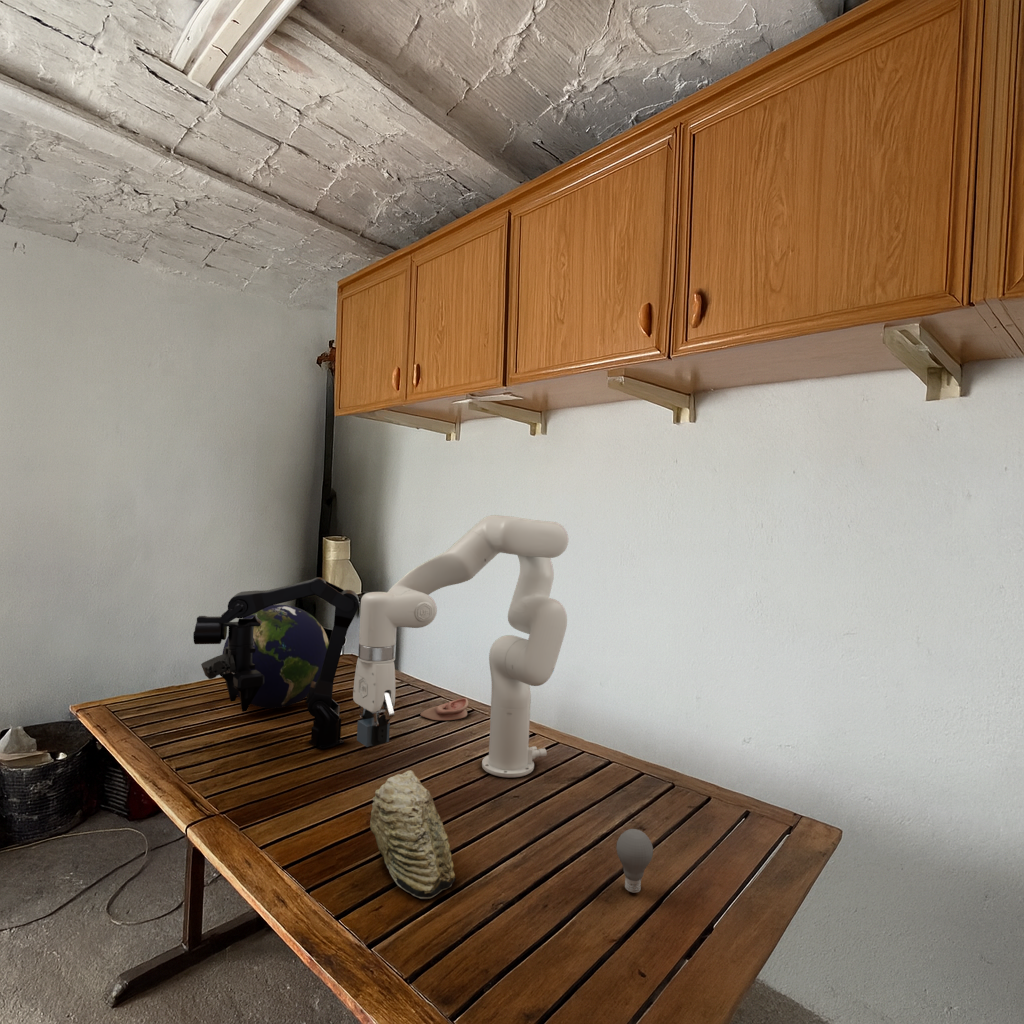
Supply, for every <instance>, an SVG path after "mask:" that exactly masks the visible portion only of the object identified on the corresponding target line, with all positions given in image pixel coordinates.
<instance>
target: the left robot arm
mask: <svg viewBox="0 0 1024 1024" xmlns="http://www.w3.org/2000/svg"><path fill="white" fill-rule="evenodd" d="M311 596H318V597H319V598H321V599H322V600H324V601H325V602H326V603H328V604H330V605H331V606H333V607H334V619H333V627H332V629H331V634H330V638H329V640H328V642H329V644H328V648H327V652H326V655H325V659H324V663H323V666H322V670H321V674H320V676H319V678H318V680H317V682H314V681H311V684H310V690H309V693H308V694H307V697H306V698H305V705H306V704H307V707H306V709H307V712H308V713H309V715H310V716H311V717H313V718H314V719H313V721H312V722H313V723H312V727H311V730H310V731H311V732H310V733H311V735H310V739H309V740H308V743H309V744H310V745H313V746H314V747H316V748H318V749H320V750H327V749H329V748H333V747H336V746H340V745H343V744H344V743H345V741H344V740H343V739H341V737H342V735H341V733H342V717H340V709H341V708H340V707H341V706H340V704H338V703H337V702H336V701H335V700H334V699H333V693H334V691H333V690H334V680H335V677H336V673H337V669H338V666H339V662H340V659H341V655H342V651H343V647H344V644H345V640H346V638H347V637H346V636H347V634H348V630H349V628H350V625H351V624H352V622H353V621H354V618H355V616H356V614H357V612H358V610H359V607H360V599H359V596H358V594H357V593H356V592H355V591H354V590H352V589H351V590H350V589H343V588H341V587H340V586H338V585H336V584H334V583H331V582H329V581H328V580H326V579H324V578H323V577H320V576H319V577H318V576H317V577H314V578H312V579H308V580H305V581H304V580H303V581H301V582H296V583H292V584H288V585H284V586H280V587H276V588H272V589H268V590H266V589H265V590H243V591H240V592H237V593H236V594H234V595H233V596H232V597H231V598H230V599H229V601H228V603H227V609H226V611H224V612H223V613H222V614H221V615H220V616H207V615H198V616H197V617H196V623H195V626H194V631H193V637H192V638H193V643H194V645H221V644H222V641H226V640H227V637H228V647H225V649H224V648H223V649H224V654H220V655H216V656H214V657H212V658H210V659H207V660H206V661H204V662H202V663H201V664H200V665H201V668H202V671H203V673H204V676H205V677H206V678H207V679H208V680H213V679H215V678H217V677H218V676H220V677H221V678H222V679H224V681H225V685H226V689H227V692H228V693H227V694H228V697H229V701H230V702H232V703H233V702H235V701H236V700H237V697H238V696H237V695H238V692H239V694H240V698H239V701H240V709H241V712H242V713H246V712H248V710H249V708H250V706H251V702H252V700H253V698H254V696H255V695H256V693H257V691H258V690H259V688H260V687H261V686H262V685H263V684H264V677H265V676H264V675H263V674H261V673H260V672H259V671H257V670H251V671H249V670H250V669H255V664H253V663H252V659H253V653H254V652H255V650H256V648H254V647H253V631H254V626H260V625H261V624H262V621H261V620H260V619H258V617H257V616H256V615H254V617H253V618H244V617H247V616H249V615H252V614H254V613H256V612H258V611H260V610H262V609H264V608H266V607H269V606H272V605H281V604H283V603H287V602H292V601H296V600H299V599H303V598H307V597H311ZM235 619H238V620H237V621H234V620H235ZM227 634H228V635H227Z"/></svg>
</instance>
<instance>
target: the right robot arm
mask: <svg viewBox="0 0 1024 1024" xmlns="http://www.w3.org/2000/svg"><path fill="white" fill-rule="evenodd" d="M568 545H569V534H568V532H567V529H566V528H565V527H564V525H562V524H561V523H560V522H559V523H558V522H556V521H549V520H539V519H531V518H523V517H518V516H510V515H499V514H498V515H497V514H492V515H488V516H485V517H483V518H482V519H480V520H479V521H477V523H476V524H474V525H473V526H472V527H471V528H470V529H469V530H468V531H467V532H465V533H464V534H463V535H462V536H461V537H460V538H459V539H458V540H457V541H456V542H453V544H452V545H451V546H450V547H449V548H448V549H446V550H444V551H443V552H442V553H440V554H437V555H435V556H433V557H432V558H430V559H428V560H427V561H424V562H423V563H420V564H419V565H417V566H415V567H414V568H412V569H410V570H409V571H408V572H407V573H406V574H405V575H403V576H402V577H401V578H400V579H398V581H396V582H395V583H394V584H393V585H392V586H391V587H390V588H389V589H388V591H370V592H365V593H364V594H363V595H362V596H361V599H360V611H359V635H358V654H357V655H358V657H357V661H356V666H355V671H354V680H353V690H352V691H353V692H352V700H353V702H354V703H355V704H356V705H358V707H359V717H360V720H363V719H368V718H373V717H374V725H373V726H372V745H373V747H374V746H378V745H383V744H386V743H388V742H387V724H389V722H390V720H391V719H392V718H394V717H395V710H394V707H395V702H396V668H395V667H396V666H395V661H396V647H397V631H398V630H397V628H409V629H410V628H411V629H420V628H421V629H422V628H424V627H426V626H428V625H430V624H431V623H432V622H433V621H434V620H435V618H436V616H437V612H438V607H437V603H436V601H435V600H434V599H433V598H432V597H431V596H430V595H431V594H432V593H435V592H436V591H438V590H441V589H443V588H445V587H449V586H454V585H458V584H462V583H465V582H468V581H470V580H472V579H473V578H474V577H475V576H476V575H477V574H479V572H480V571H481V570H482V569H483V568H484V567H486V566H487V565H488V564H489V563H490V562H491V561H492V560H493V559H494V558H495V557H496V556H497V555H499V554H500V553H501V554H507V555H515V556H517V559H518V561H519V574H518V579H517V582H516V586H515V588H514V592H513V594H512V598H511V601H510V605H509V607H508V611H507V621H508V622H507V623H509V625H510V626H511V627H512V628H513V629H515V630H516V631H519V632H521V633H523V634H524V633H525V634H527V635H528V638H527V639H526V638H524V637H521V636H517V635H513V634H507V635H502V636H500V637H498V638H497V639H496V640H494V641H493V643H492V644H491V647H490V649H489V653H488V663H489V671H490V679H491V695H490V696H491V698H490V718H489V740H488V754H487V755H486V756H484V757H483V758H482V760H481V761H482V762H481V767H482V769H483V770H484V771H485V772H486V773H488V774H490V775H491V776H496V777H499V778H512V779H513V778H520V777H524V776H527V775H529V774H531V773H532V772H533V771H534V769H535V762H534V760H536V758H544V757H547V753H548V752H547V749H546V748H544V747H543V748H537V746H535V745H534V746H530V723H531V722H530V721H531V703H532V693H531V687H540V686H542V685H544V684H545V683H547V682H548V681H549V679H550V678H551V676H552V675H553V673H554V671H555V667H556V665H557V662H558V659H559V655H560V652H561V649H562V645H563V642H564V639H565V635H566V632H567V627H568V614H567V611H566V608H565V606H564V605H563V604H562V603H561V602H560V601H559V600H557V599H555V598H553V597H552V598H551V596H550V595H551V592H552V587H553V583H554V579H555V572H554V571H555V570H554V565H553V562H552V559H553V558H558V557H559V556H561V555H562V554H563V553H564V552H565V551H566V550H567V547H568ZM382 713H383V714H382ZM380 714H381V715H380ZM379 716H380V718H379Z"/></svg>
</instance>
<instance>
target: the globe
mask: <svg viewBox="0 0 1024 1024" xmlns="http://www.w3.org/2000/svg"><path fill="white" fill-rule="evenodd" d="M254 615H256V616H257V617H258V619H260V620H261V621H262V624H261V625H260V626H254V631H253V647H254V648H256V650H255V652H254V653H253V659H252V663H253V664H255V669H250V670H249V671H251V670H257V671H259V672H260V673H261V674H263V675H264V676H265V677H264V684H263V685H262V686H261V687H260V688H259V690H258V691H257V693H256V695H255V696H254V698H253V700H252V702H251V704H250V706H254V707H258V708H262V709H282V708H285V707H289V706H293V705H295V704H298V703H299V702H301V701H303V700H304V699H306V698H307V694H308V693H309V690H310V684H311V681H314V682H317V680H318V678H319V676H320V674H321V670H322V666H323V663H324V659H325V655H326V652H327V648H328V644H329V638H328V635H327V633H326V631H325V629H324V627H323V626H322V624H321V623H320V621H318V619H317V618H315V616H314V615H312V614H311V613H310V612H308V611H305V610H304V609H302V608H299V607H297V606H292V605H290V604H289V605H288V604H276V605H272V606H269V607H266V608H264V609H262V610H260V611H258V612H256V613H254V614H252V615H249V616H247V617H244V618H253V617H254ZM225 647H228V636H226V639H225V642H224V645H223V649H222V654H224V649H225ZM222 654H221V655H222ZM237 697H238V698H239V699H240V694H239V692H238V695H237Z"/></svg>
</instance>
